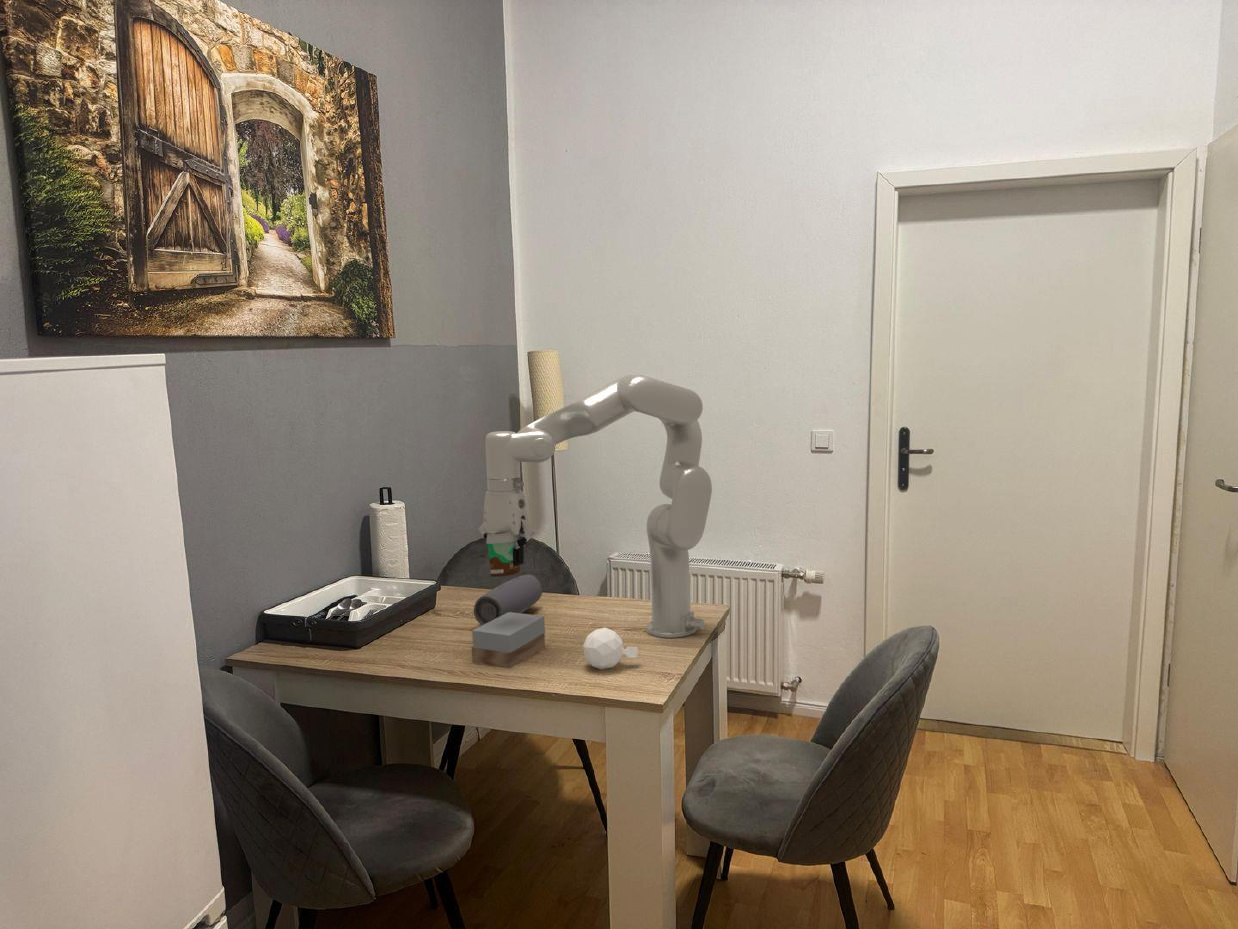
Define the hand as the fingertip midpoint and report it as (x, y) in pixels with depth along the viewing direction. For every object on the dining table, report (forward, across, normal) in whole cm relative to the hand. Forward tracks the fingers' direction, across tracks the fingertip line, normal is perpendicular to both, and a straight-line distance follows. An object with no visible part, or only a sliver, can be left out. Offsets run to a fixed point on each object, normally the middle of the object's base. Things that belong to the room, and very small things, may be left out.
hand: (507, 562), depth 197 cm
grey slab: (+18, 0, 0) cm, 18 cm away
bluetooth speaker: (+22, +17, -22) cm, 36 cm away
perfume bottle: (+22, -26, -3) cm, 34 cm away
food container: (+2, -1, 0) cm, 3 cm away
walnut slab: (+22, 0, 0) cm, 22 cm away
